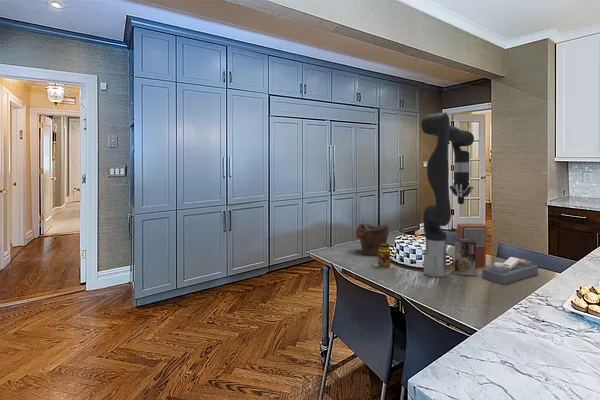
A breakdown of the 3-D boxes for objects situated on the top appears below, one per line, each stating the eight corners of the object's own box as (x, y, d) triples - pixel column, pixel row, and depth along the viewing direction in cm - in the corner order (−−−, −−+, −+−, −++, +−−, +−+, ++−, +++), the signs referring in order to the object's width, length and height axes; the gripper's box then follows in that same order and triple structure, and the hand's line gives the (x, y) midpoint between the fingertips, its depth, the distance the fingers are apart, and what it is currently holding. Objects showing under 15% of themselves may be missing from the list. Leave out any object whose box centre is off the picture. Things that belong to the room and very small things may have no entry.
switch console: (504, 284, 145) (504, 271, 145) (482, 278, 154) (482, 265, 154) (537, 274, 157) (538, 262, 157) (515, 268, 166) (516, 257, 165)
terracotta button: (523, 266, 157) (523, 261, 157) (515, 264, 160) (515, 259, 160) (528, 264, 159) (528, 260, 158) (520, 263, 162) (520, 258, 162)
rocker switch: (510, 270, 152) (509, 267, 151) (501, 268, 155) (500, 265, 155) (519, 261, 155) (519, 258, 155) (511, 259, 158) (510, 256, 158)
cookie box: (474, 272, 163) (475, 239, 161) (475, 276, 157) (476, 242, 156) (454, 270, 167) (454, 238, 165) (454, 273, 161) (454, 240, 159)
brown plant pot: (352, 249, 211) (352, 221, 209) (383, 248, 213) (383, 220, 211) (360, 257, 194) (360, 227, 191) (394, 256, 196) (394, 225, 194)
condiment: (382, 269, 171) (382, 246, 170) (372, 265, 179) (372, 243, 177) (394, 267, 174) (394, 244, 172) (384, 263, 181) (384, 241, 180)
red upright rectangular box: (453, 263, 178) (483, 263, 176) (458, 267, 171) (489, 267, 169) (454, 223, 175) (484, 223, 174) (459, 225, 168) (490, 225, 167)
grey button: (500, 269, 149) (500, 264, 148) (492, 267, 152) (492, 262, 152) (505, 268, 150) (505, 263, 150) (497, 266, 153) (497, 261, 153)
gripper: (446, 171, 180) (445, 203, 182) (468, 171, 169) (467, 205, 171) (455, 171, 184) (454, 202, 186) (477, 171, 172) (477, 204, 174)
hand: (460, 204), depth 178 cm, fingers closed
